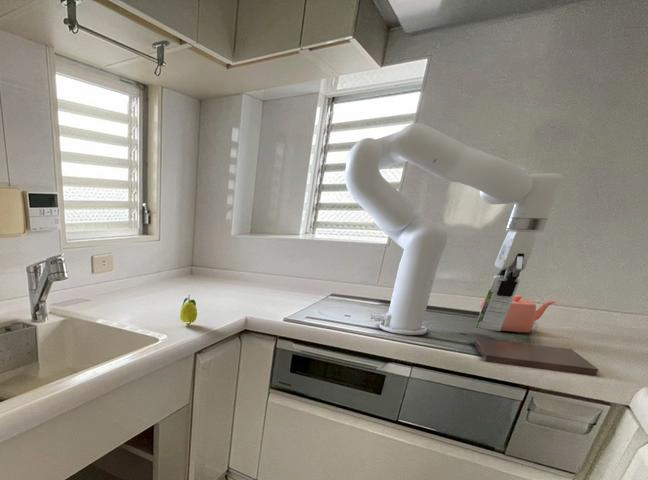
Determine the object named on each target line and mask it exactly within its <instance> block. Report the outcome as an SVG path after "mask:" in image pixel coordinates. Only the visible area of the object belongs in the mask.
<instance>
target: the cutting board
mask: <svg viewBox="0 0 648 480" xmlns="http://www.w3.org/2000/svg"><path fill="white" fill-rule="evenodd" d="M473 345H474V347H475V348H476V350H477V351H478V352H479V354H480V355H481V357H482V359H483V360H484V362H492V363H498V364H504V365H505V364H506V365H513V366H521V367H528V368H535V369H546V370H551V371H560V372H566V373H574V374H580V375H581V374H582V375H588V376H589V375H590V376H596V375H597V373H598V371H599V368H598V367H596V366H595V365H593V364H592V363H590V361H588V360H587V359H585V358H584V357H583V356H582V355H580V354H579V353H577V352H576V350H574V349H572V348H566V347H560V346H559V347H558V346H551V345H541V344H532V343H524V342H515V341H504V340H496V339H489V338H488V339H486V338H479V337H475V338H474V339H473Z"/></svg>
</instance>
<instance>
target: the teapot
mask: <svg viewBox="0 0 648 480" xmlns="http://www.w3.org/2000/svg"><path fill="white" fill-rule="evenodd" d="M484 301H485V300H481V301H480V303H479V307H480V309H481V310H482V307H483V304H484ZM557 302H558V300H557V301H556V300H548V301H545V302H543V303H542V304H541V305H540V306H539V308H537V304H536V303H534V301H531V300H528V299H525V298H523V296H522V295H519V294H515V295H514V298H513V300H512V303H511V305H510V308H509V310H508V313H507V315H506V318H505V320H504V323H503V325H502V328H501V330H500V331H499V332H502V331H505V332H513V333H520V334H521V333H529V332H530V331H531V330H532V329H533V326H534V324H535V322H536V321H538V320H539V319H540V318H542V316H543V315H544V313H545V311H546V310H547V308H548V307H549V306H551V305H553V304H555V303H557Z"/></svg>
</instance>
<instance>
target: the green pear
mask: <svg viewBox="0 0 648 480" xmlns="http://www.w3.org/2000/svg"><path fill="white" fill-rule="evenodd" d="M190 296H191V295H190V294H188V297H185V298H184V300H183V303H182V306H181V308H180V311H179V318H180V319H179V320H181V322H182V321H183V322H182V323H184V322H192V323H194V322H195V321H196V320H197V317H198V309H197V306H196V305H197V303H196V300H195V299H190V298H189V297H190ZM186 301H187V302H186ZM192 323H185V324H186V325H187V326H190V325H191V324H192Z"/></svg>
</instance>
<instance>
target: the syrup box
mask: <svg viewBox="0 0 648 480" xmlns="http://www.w3.org/2000/svg"><path fill="white" fill-rule="evenodd" d="M496 275H497V274H496ZM496 275H494V276H493V279H492V280H491V281H492V282H491V284H490V287H489V289H488V291H487V293H486V296H485V298H484V300H483V301H484V304H483V307H482V309H481V310H480V312H479V315H478V318H477V321H476V324H475V328H477V329H483V330H490V331H496V332H501V331H500V330H501V328H502V325H503V323H504V320H505V318H506V315H507V313H508V310H509V308H510V305H511V303H512V300H513V298H514V295H516V292H517V290H518V288H519V285H520V282H521V278H520V277H519V278H518V281H517V284H516V286H515V289H514V292H513V294H512V296H511V297H508V296H498V295H497V292H498V289H499V286H500V284H501V281H503V280H504V276H500V275H497V276H496Z"/></svg>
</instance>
